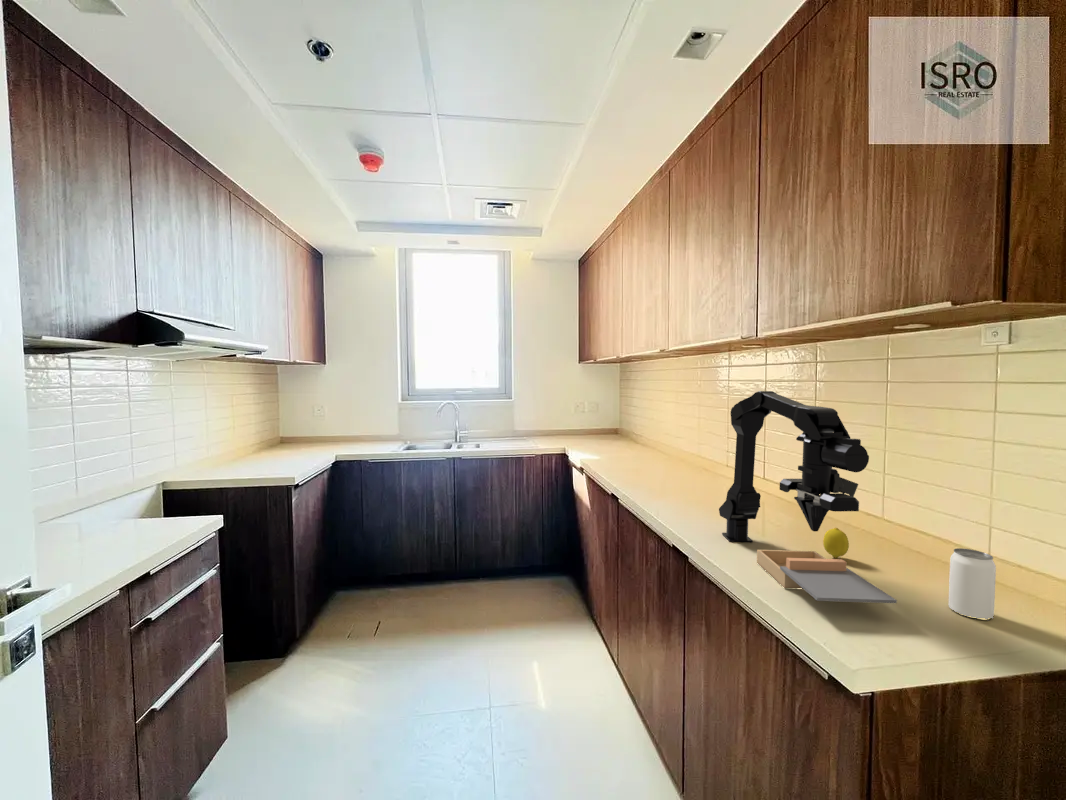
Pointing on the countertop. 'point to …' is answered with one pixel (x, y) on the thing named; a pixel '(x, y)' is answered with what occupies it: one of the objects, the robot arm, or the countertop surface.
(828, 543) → the lemon
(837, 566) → the lid
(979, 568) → the can
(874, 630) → the countertop surface
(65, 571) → the countertop surface
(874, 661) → the countertop surface
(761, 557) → the box
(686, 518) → the countertop surface
